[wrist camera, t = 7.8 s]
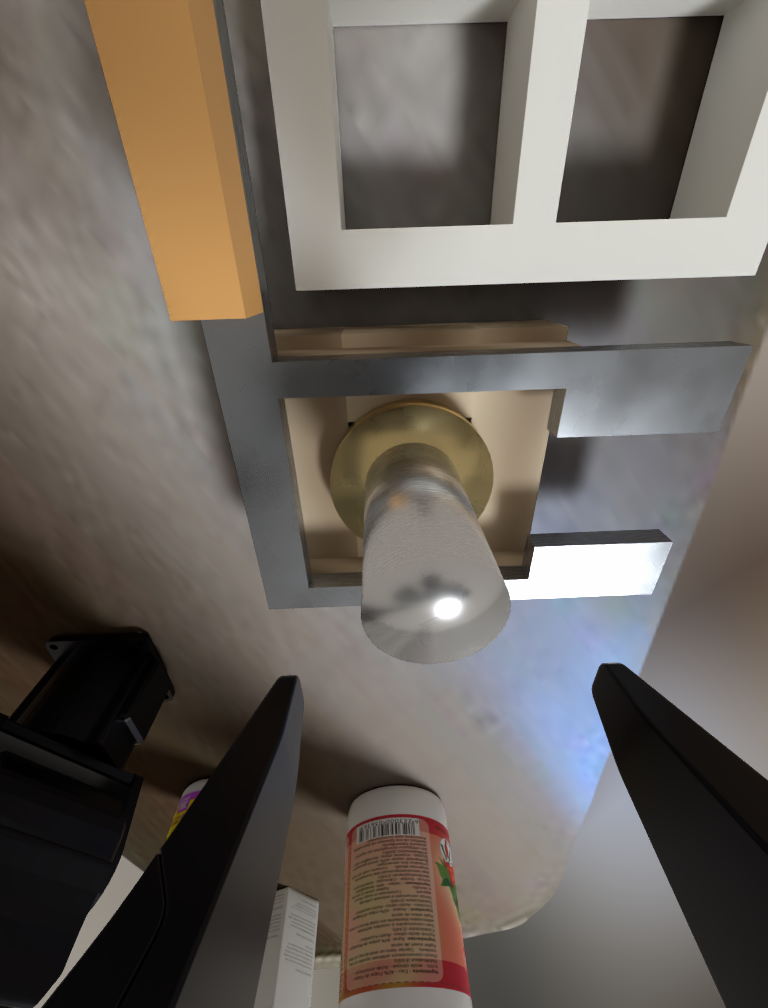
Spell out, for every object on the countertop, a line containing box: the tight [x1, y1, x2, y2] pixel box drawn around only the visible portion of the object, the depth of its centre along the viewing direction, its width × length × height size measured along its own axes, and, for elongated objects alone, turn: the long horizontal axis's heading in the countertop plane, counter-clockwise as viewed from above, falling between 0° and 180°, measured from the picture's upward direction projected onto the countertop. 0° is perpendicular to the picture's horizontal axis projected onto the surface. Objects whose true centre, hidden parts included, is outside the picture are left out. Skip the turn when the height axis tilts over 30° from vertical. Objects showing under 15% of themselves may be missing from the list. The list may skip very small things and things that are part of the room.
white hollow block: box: [260, 0, 768, 291], centre depth 13 cm, size 16×9×3 cm, turn 92°
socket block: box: [274, 320, 581, 574], centre depth 18 cm, size 12×12×4 cm
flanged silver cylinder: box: [330, 399, 511, 664], centre depth 15 cm, size 7×7×11 cm
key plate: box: [84, 0, 753, 609], centre depth 13 cm, size 18×20×3 cm
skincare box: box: [254, 887, 319, 1008], centre depth 43 cm, size 8×7×16 cm
